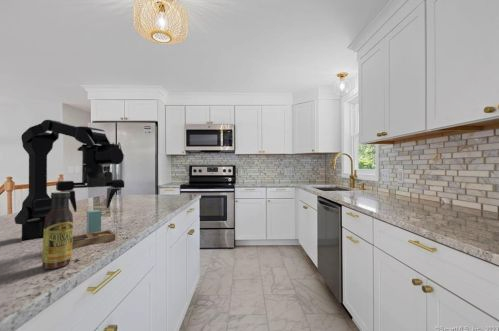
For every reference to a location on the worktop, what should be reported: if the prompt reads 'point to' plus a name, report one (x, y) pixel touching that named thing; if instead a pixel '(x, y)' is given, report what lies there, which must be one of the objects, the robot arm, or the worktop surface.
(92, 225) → the plug
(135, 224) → the worktop surface
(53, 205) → the sauce bottle
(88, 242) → the socket box
